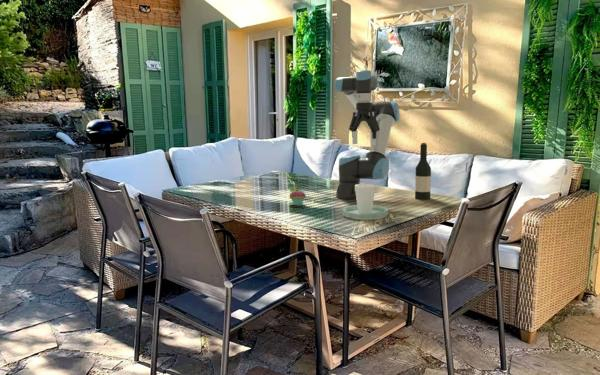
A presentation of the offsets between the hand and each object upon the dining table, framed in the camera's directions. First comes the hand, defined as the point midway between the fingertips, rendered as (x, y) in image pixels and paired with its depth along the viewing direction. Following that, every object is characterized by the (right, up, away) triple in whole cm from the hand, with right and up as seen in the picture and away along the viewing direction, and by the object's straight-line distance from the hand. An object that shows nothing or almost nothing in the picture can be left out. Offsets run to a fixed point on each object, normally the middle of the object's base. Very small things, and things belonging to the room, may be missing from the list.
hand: (363, 144), depth 228 cm
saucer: (-2, -34, -18) cm, 39 cm away
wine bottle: (+34, -28, +16) cm, 47 cm away
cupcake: (-34, -31, +8) cm, 46 cm away
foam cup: (-2, -34, -19) cm, 39 cm away
